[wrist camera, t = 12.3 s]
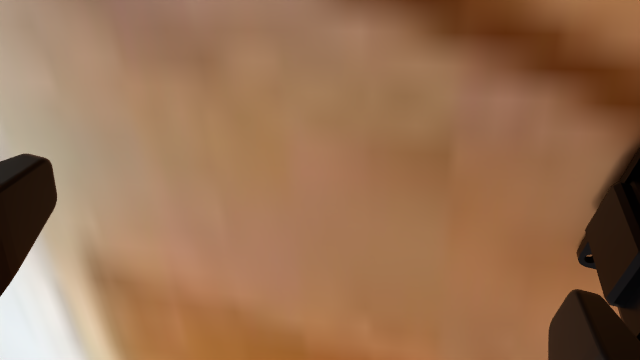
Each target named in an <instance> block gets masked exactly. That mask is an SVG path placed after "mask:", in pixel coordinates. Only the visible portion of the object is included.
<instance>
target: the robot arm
mask: <svg viewBox="0 0 640 360" xmlns="http://www.w3.org/2000/svg"><path fill="white" fill-rule="evenodd" d="M56 201H57V191H56V186H55V180H54V174H53V168H52V164H51V162H50V161H49V160H48V159H46V158H44V157H40V156H36V155H32V154H21V155H18V156H15V157H12V158H10V159H7V160H4V161H1V162H0V296H1V295H2V294H3V292H4V291H5V289H6V288H7V287H8V285H9V284H10V282H11V281H12V279H13V278H14V276H15V275H16V273H17V272H18V270H19V268H20V267H21V265H22V263H23V261H24V260H25V258H26V256H27V255H28V253H29V251H30V249H31V248H32V246H33V244H34V243H35V241H36V239H37V237H38V236H39V234H40V232H41V231H42V229H43V227H44V225H45V224H46V222H47V220H48V218H49V217H50V215H51V213H52V212H53V210H54V208H55V205H56ZM585 232H586V237H585V238H584V240H583V241H582V243H581V245H580V246H579V248H578V250H577V257H578V261H579V263H580V264H581V265H583V266H585V267H589V268H593V269H596V270H597V273H598V276H599V280H600V283H601V287H602V290H603V294H604V297H605V299H606V301H607V302H608V303H607V302H606V301H605V300H604V299H603V298H602V297H601V296H600V295H598V294H595V293H591V292H587V291H583V290H579V289H575V290H572V291H571V292H570V293H569V294H568V295H567V297H566V298H565V300H564V302H563V303H562V305H561V306H560V308H559V309H558V311H557V313H556V314H555V316H554V317H553V319H552V321H551V323H550V327H549V342H548V360H640V148H639V150H638V152H637V153H636V155H635V156H634V158H633V160H632V161H631V163H630V165H629V166H628V168H627V169H626V171H625V173H624V174H623V176H622V178H621V179H620V181H619V182H617V183H615V184H614V185H612V186H611V188H610V189H609V191H608V193H607V194H606V196H605V198H604V199H603V201H602V203H601V204H600V206H599V208H598V209H597V211H596V213H595V214H594V216H593V218H592V219H591V221H590V222H589V224H588V226H587V227H586V230H585ZM590 254H592V256H591V257H586V256H587V255H590ZM608 304H609V305H612V306H616V307H618V310H619V313H620V317H621V319H620V317H619V316H618V315H617V314H616V313H615V312H614V310H613V309H612V308H611V307H610V306H609V305H608Z"/></svg>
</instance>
